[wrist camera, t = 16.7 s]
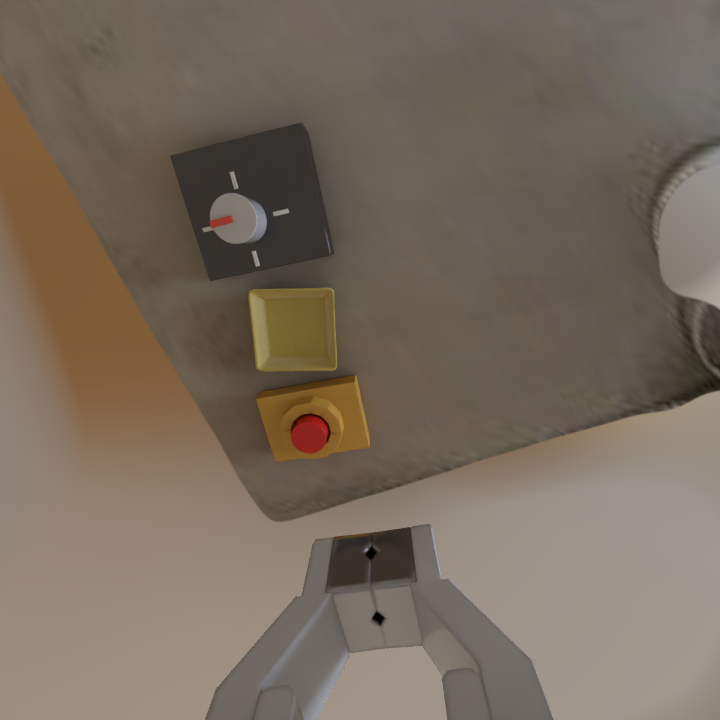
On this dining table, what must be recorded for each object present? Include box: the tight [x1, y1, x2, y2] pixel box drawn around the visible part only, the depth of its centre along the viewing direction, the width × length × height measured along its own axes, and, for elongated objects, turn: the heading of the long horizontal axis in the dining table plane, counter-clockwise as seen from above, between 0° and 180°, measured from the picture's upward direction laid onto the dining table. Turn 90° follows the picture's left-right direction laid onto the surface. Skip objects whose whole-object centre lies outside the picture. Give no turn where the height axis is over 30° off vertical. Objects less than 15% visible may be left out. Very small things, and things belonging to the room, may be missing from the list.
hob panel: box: [171, 123, 334, 281], centre depth 35 cm, size 12×11×3 cm
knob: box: [209, 193, 267, 244], centre depth 32 cm, size 4×4×3 cm
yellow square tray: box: [248, 288, 337, 371], centre depth 39 cm, size 9×9×2 cm
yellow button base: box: [256, 375, 370, 462], centre depth 41 cm, size 11×8×4 cm
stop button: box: [291, 415, 328, 454], centre depth 39 cm, size 4×4×2 cm
